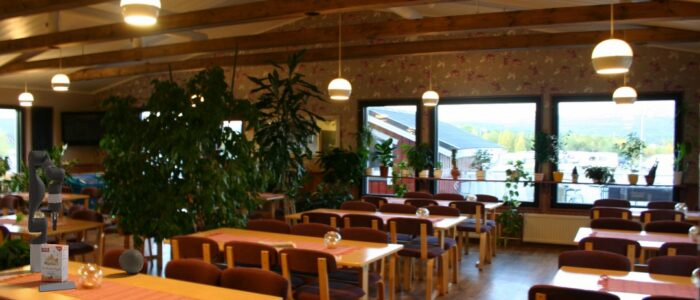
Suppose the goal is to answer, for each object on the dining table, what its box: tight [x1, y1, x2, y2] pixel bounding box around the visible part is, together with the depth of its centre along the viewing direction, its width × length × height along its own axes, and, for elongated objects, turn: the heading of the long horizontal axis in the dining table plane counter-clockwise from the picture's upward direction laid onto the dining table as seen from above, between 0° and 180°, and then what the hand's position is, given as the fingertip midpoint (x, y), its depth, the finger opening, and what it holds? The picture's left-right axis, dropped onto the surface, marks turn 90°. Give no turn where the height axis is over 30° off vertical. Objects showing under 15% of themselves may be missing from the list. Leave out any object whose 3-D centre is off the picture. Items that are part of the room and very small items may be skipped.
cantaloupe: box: [118, 248, 144, 274], centre depth 371 cm, size 14×14×15 cm
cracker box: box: [40, 243, 69, 283], centre depth 348 cm, size 14×6×21 cm, turn 77°
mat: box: [39, 280, 77, 293], centre depth 336 cm, size 18×18×1 cm
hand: (54, 230), depth 355 cm, fingers closed
